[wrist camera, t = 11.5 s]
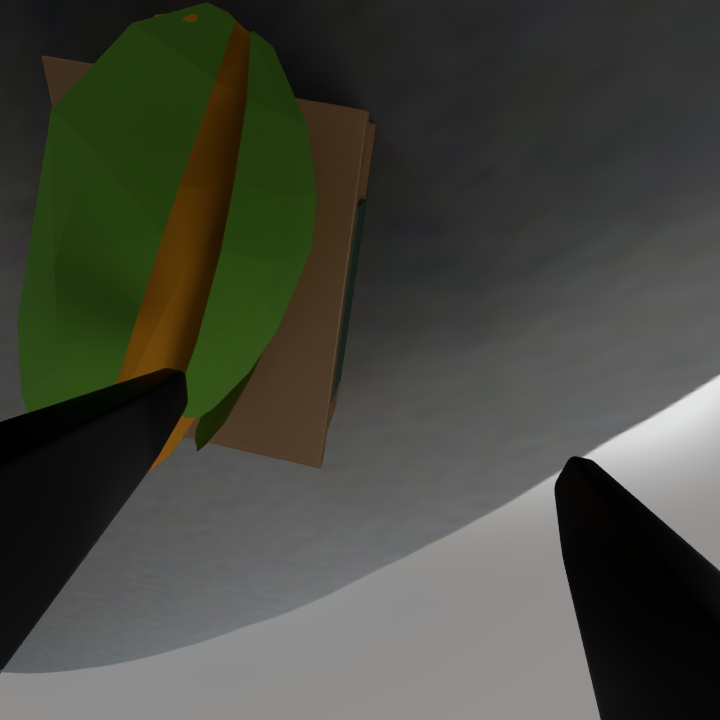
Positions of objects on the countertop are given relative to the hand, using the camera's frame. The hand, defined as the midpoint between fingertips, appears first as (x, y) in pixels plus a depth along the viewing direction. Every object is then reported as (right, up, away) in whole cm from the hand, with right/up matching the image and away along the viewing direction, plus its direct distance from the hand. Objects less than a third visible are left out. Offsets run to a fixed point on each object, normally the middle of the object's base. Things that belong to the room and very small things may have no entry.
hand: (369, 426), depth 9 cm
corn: (-7, +4, +8) cm, 12 cm away
